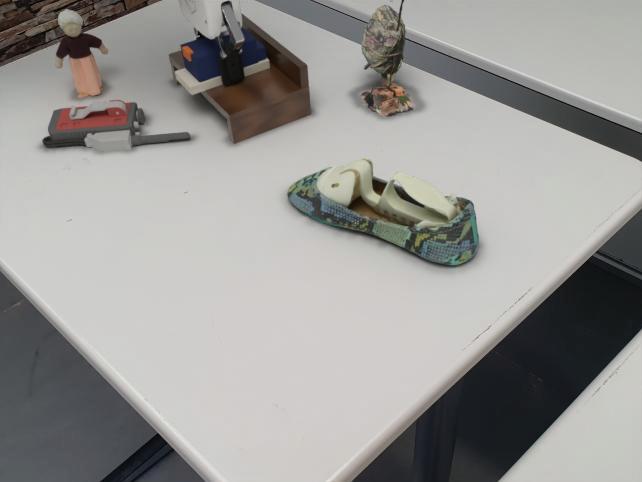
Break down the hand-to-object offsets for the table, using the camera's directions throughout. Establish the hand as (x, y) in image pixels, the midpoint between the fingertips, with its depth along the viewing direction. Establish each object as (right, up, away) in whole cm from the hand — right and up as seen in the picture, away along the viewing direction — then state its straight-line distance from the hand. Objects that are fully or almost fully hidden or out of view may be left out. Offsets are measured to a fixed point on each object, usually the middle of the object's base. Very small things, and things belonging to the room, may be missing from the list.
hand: (222, 71), depth 96 cm
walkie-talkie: (-14, -9, 0) cm, 17 cm away
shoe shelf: (+2, -3, +5) cm, 6 cm away
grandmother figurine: (-20, -1, +8) cm, 22 cm away
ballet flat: (+21, -24, -15) cm, 35 cm away
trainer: (0, 0, 0) cm, 0 cm away
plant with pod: (+23, -3, +3) cm, 23 cm away
